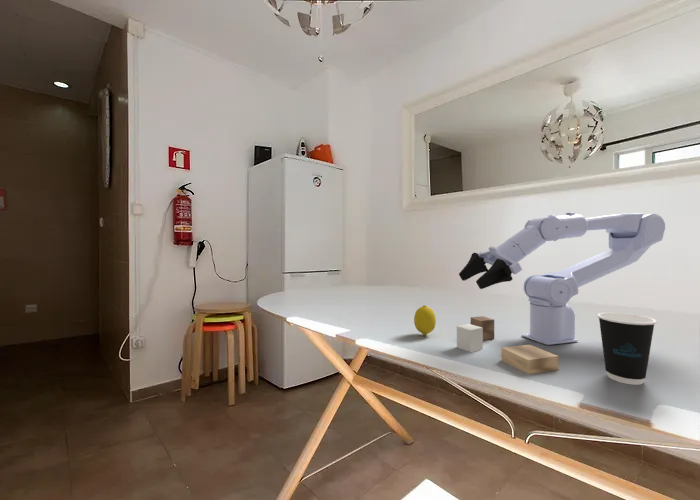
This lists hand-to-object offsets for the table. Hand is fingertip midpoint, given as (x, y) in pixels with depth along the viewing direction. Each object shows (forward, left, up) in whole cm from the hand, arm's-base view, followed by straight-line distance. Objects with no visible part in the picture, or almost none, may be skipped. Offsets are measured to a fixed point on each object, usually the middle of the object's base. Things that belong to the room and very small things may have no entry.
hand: (469, 281), depth 77 cm
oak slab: (-3, +15, -15) cm, 22 cm away
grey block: (+2, +3, -15) cm, 16 cm away
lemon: (+7, -9, -15) cm, 19 cm away
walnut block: (-6, -3, -15) cm, 16 cm away
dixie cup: (-14, +25, -15) cm, 32 cm away
